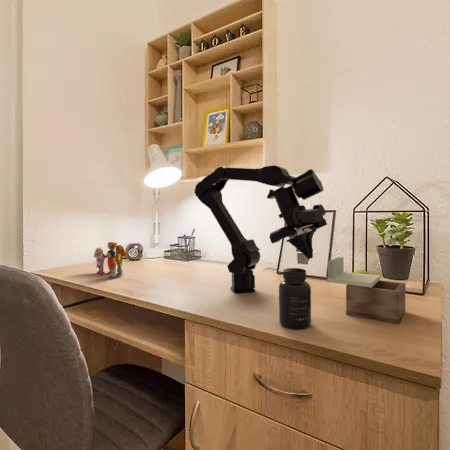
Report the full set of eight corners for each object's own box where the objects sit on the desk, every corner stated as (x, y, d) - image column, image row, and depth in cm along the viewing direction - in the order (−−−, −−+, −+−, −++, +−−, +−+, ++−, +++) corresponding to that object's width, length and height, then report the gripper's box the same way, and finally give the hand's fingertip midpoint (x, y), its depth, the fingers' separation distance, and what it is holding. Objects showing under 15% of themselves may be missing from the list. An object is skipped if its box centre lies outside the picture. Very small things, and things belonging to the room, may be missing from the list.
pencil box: (346, 314, 72) (346, 285, 71) (356, 304, 80) (357, 277, 79) (399, 324, 65) (399, 292, 65) (405, 311, 73) (405, 283, 73)
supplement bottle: (275, 319, 69) (275, 267, 69) (304, 318, 70) (304, 266, 69) (284, 331, 62) (283, 273, 62) (316, 329, 63) (316, 272, 62)
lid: (327, 281, 74) (327, 261, 74) (339, 275, 82) (339, 256, 82) (371, 287, 68) (371, 265, 68) (380, 279, 76) (380, 259, 76)
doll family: (92, 272, 129) (91, 242, 128) (114, 269, 135) (113, 240, 135) (112, 280, 113) (111, 245, 113) (136, 276, 120) (135, 243, 119)
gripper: (287, 199, 74) (311, 259, 72) (330, 191, 85) (353, 242, 83) (259, 216, 83) (280, 269, 80) (302, 206, 94) (322, 253, 91)
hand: (310, 258), depth 83 cm, fingers closed
